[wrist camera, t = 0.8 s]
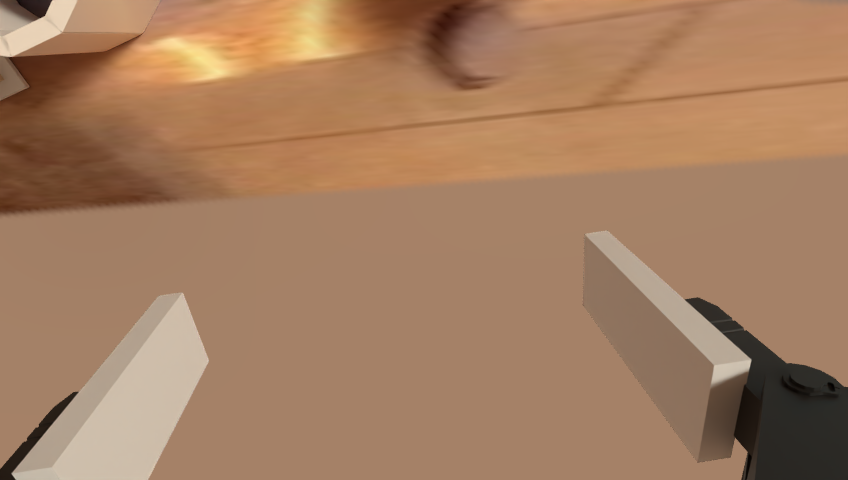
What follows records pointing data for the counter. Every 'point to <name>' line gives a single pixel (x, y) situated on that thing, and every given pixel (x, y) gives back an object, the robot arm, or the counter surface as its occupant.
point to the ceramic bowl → (72, 26)
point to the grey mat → (10, 79)
